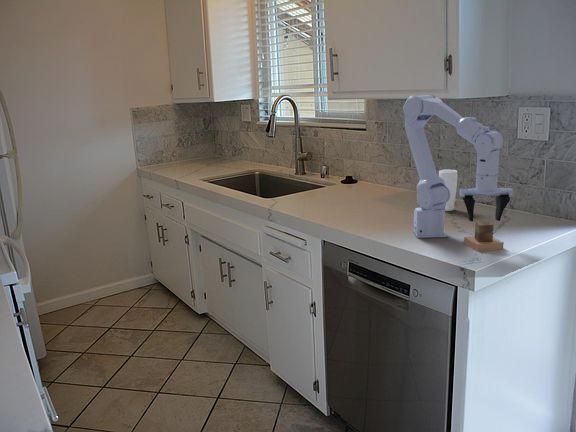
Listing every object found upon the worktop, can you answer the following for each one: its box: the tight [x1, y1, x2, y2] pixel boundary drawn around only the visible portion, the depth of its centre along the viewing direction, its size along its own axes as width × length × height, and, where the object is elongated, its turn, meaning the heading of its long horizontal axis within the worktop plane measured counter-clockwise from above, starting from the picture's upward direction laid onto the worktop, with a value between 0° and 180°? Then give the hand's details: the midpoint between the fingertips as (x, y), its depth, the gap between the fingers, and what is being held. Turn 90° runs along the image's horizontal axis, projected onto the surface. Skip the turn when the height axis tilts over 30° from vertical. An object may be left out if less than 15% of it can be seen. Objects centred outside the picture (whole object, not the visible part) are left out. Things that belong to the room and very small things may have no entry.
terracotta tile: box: [463, 235, 504, 252], centre depth 152 cm, size 8×8×2 cm
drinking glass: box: [438, 168, 458, 212], centre depth 194 cm, size 7×7×15 cm
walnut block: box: [474, 221, 495, 242], centre depth 151 cm, size 4×4×5 cm
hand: (484, 220), depth 150 cm, fingers open, 7 cm apart
